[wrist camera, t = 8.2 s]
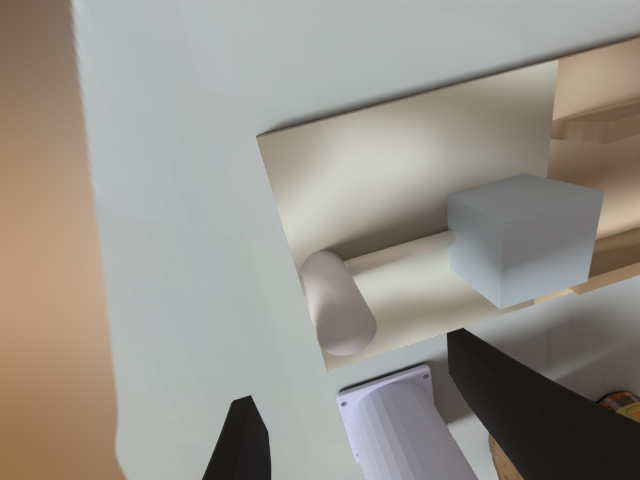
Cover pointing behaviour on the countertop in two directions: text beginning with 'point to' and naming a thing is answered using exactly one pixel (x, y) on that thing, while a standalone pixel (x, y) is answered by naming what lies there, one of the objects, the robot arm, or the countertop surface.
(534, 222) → the block
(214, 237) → the countertop surface
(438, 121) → the shelf lane
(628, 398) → the sauce bottle
